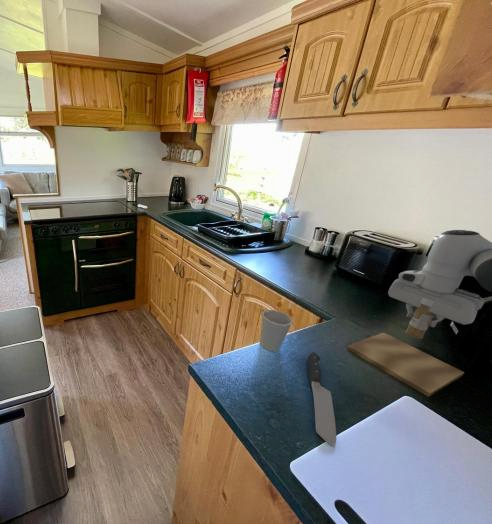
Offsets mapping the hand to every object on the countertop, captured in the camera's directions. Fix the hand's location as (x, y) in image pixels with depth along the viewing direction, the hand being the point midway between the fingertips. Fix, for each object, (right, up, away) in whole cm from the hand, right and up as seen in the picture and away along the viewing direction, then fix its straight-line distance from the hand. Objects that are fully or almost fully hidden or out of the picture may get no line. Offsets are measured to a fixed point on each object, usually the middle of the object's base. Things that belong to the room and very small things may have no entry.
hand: (420, 321), depth 92 cm
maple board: (-13, -10, -8) cm, 18 cm away
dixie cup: (-51, -6, -5) cm, 51 cm away
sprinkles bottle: (0, -5, +2) cm, 5 cm away
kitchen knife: (-46, -13, -22) cm, 53 cm away
